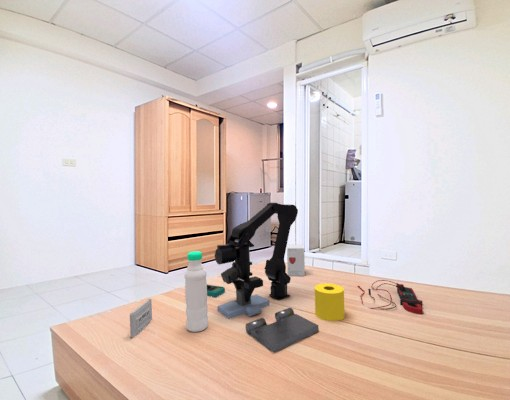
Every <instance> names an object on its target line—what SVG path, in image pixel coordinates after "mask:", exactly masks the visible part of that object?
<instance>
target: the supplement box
mask: <svg viewBox="0 0 510 400" xmlns="http://www.w3.org/2000/svg"><path fill="white" fill-rule="evenodd" d="M286 250H287V251H286V252H287V253H286V254H287V257H286V260H287V266H286V267H287V275H288V276H289V277H305V276H306V275H305V273H306V272H305V264H306V263H305V245H304V244H287V246H286Z"/></svg>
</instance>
